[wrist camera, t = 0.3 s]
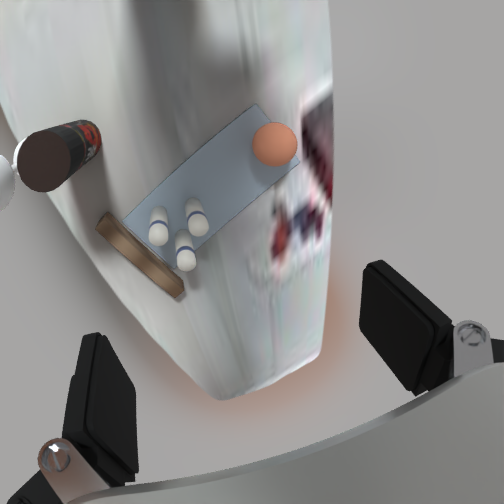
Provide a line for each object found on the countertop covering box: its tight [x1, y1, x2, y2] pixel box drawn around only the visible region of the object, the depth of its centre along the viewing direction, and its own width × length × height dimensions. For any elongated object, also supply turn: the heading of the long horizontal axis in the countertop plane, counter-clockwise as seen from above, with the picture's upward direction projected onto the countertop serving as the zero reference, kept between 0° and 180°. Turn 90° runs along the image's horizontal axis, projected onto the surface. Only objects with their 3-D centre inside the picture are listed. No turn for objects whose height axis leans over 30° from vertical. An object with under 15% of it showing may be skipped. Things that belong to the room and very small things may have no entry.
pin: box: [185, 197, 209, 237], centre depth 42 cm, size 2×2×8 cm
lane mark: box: [122, 104, 300, 269], centre depth 45 cm, size 11×25×1 cm, turn 128°
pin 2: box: [175, 229, 196, 272], centre depth 43 cm, size 2×2×8 cm
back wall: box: [95, 212, 184, 298], centre depth 45 cm, size 16×2×3 cm, turn 38°
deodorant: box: [17, 120, 101, 192], centre depth 30 cm, size 6×6×15 cm
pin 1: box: [149, 206, 169, 246], centre depth 41 cm, size 2×2×8 cm
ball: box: [252, 123, 297, 166], centre depth 41 cm, size 6×6×6 cm
